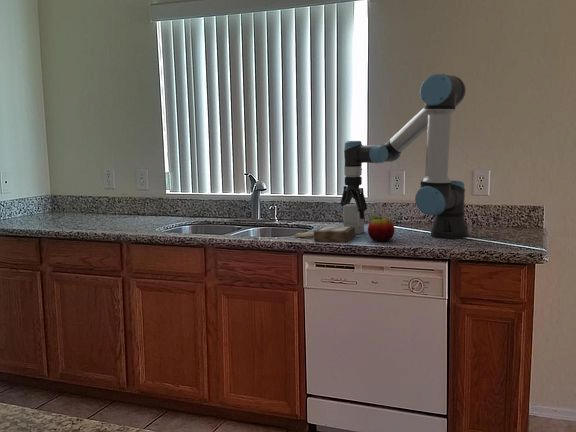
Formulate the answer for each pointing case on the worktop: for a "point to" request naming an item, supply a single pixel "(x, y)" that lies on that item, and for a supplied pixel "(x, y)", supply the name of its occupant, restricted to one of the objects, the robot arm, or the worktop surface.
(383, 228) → the fruit
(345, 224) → the supplement box
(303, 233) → the cork coaster
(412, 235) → the worktop surface
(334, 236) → the stand
